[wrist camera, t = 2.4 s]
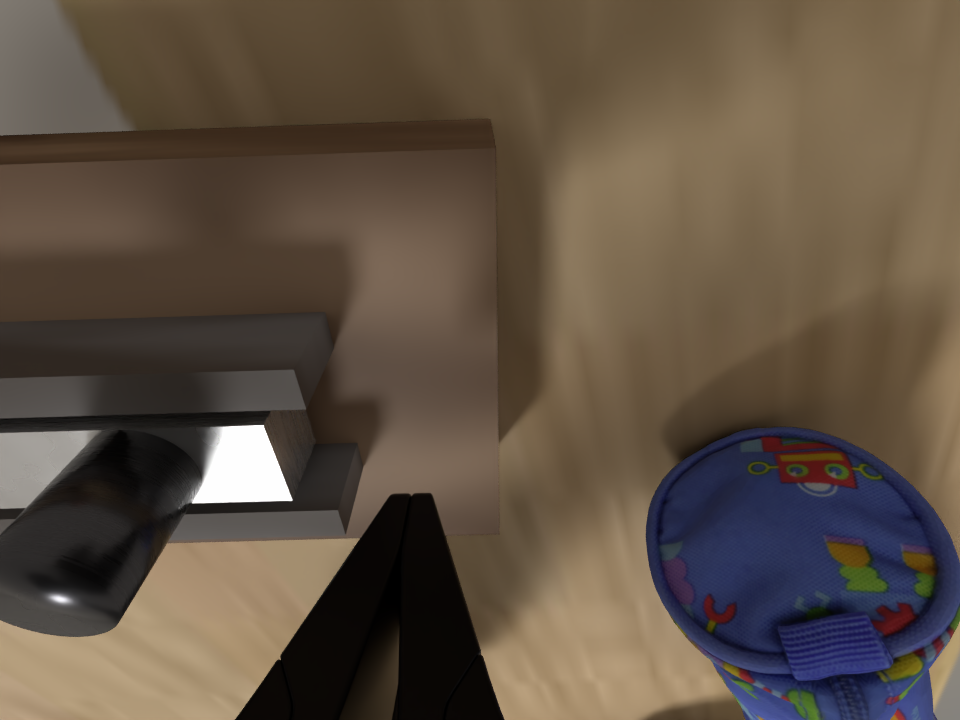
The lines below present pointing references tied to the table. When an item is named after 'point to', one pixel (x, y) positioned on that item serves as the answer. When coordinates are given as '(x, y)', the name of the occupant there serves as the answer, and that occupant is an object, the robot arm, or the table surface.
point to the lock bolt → (123, 501)
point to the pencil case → (806, 575)
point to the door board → (268, 303)
